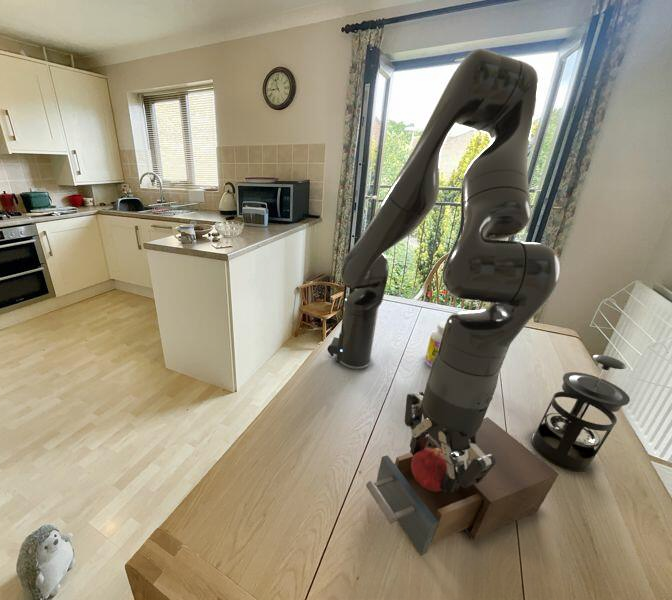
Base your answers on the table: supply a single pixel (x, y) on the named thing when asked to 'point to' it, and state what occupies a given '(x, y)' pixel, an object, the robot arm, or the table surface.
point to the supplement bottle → (434, 343)
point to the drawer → (422, 504)
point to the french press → (580, 417)
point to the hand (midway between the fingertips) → (431, 469)
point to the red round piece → (429, 468)
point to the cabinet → (506, 480)
